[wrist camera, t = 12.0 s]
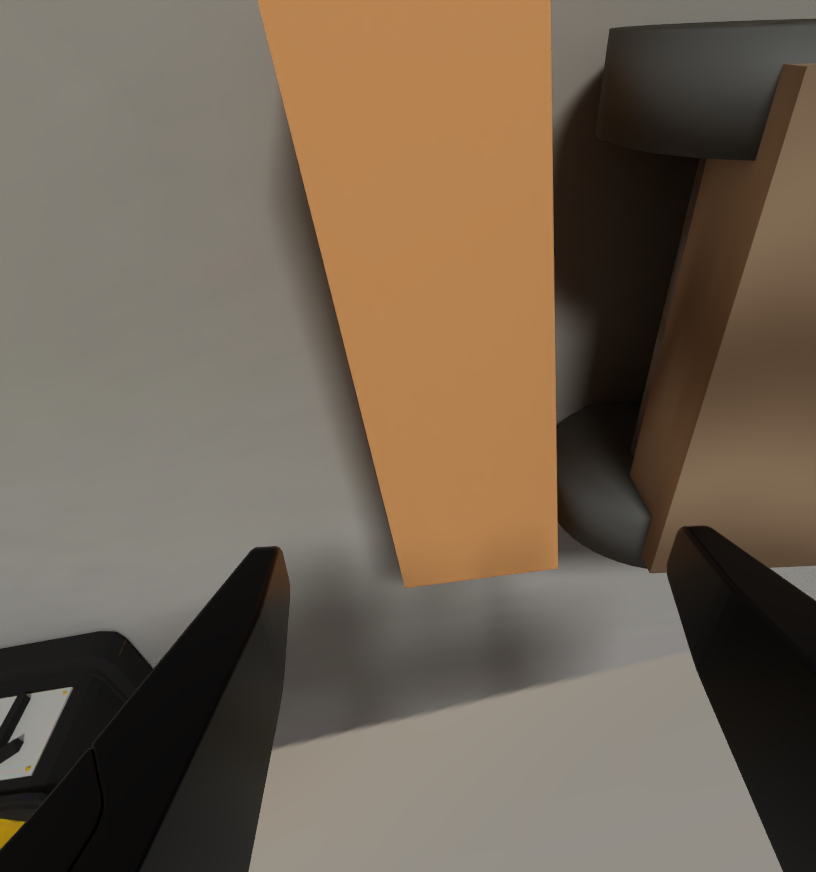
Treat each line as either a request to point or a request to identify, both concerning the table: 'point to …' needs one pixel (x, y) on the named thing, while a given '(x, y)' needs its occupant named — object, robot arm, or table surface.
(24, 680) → the trophy
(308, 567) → the table surface
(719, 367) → the trolley
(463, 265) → the chock
